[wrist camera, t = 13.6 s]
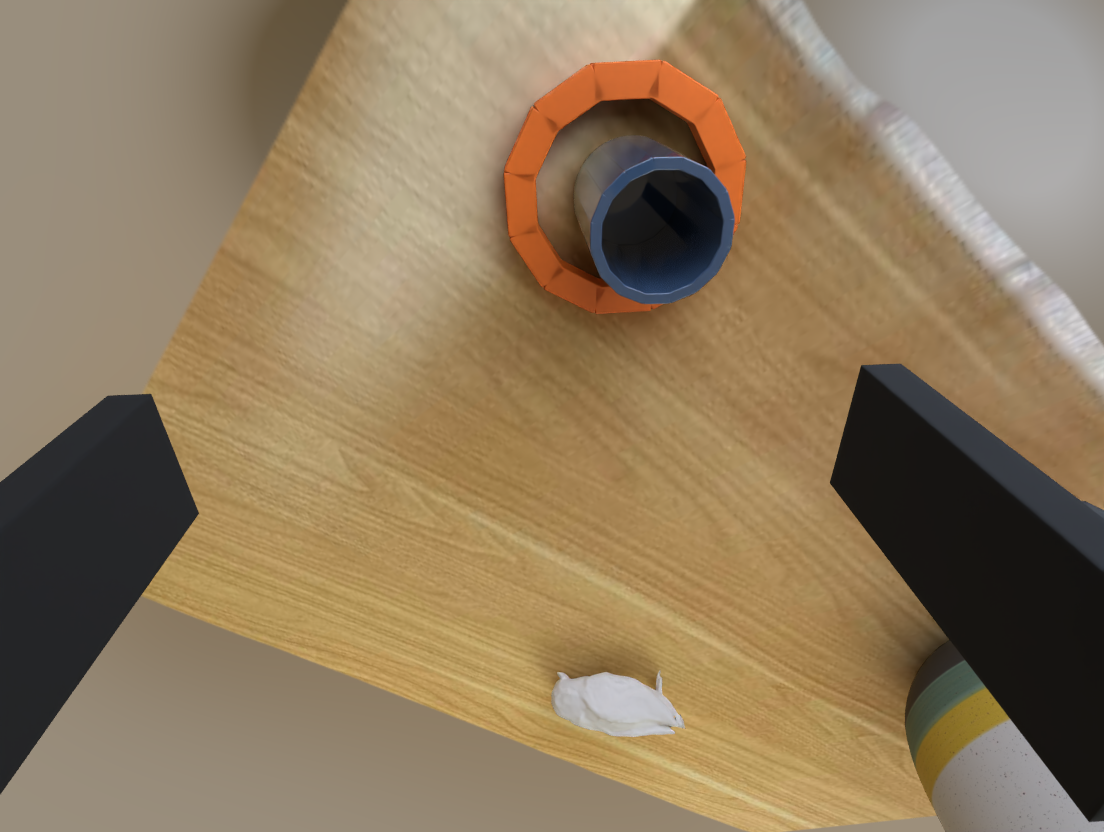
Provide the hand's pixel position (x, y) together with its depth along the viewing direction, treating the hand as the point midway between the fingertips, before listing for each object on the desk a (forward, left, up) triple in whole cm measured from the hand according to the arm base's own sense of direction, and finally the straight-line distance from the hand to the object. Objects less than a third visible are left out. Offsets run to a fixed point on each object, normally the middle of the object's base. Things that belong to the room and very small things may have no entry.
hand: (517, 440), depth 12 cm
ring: (0, +6, -24) cm, 25 cm away
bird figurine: (+41, +6, -24) cm, 48 cm away
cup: (0, +6, -24) cm, 25 cm away
